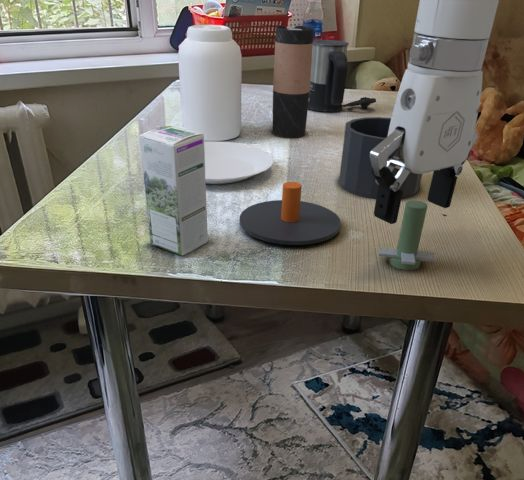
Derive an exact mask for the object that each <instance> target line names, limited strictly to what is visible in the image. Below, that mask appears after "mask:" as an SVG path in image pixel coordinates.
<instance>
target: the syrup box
mask: <svg viewBox="0 0 524 480" xmlns="http://www.w3.org/2000/svg"><path fill="white" fill-rule="evenodd" d="M204 142H205V141H204V134H203V133H198V132H194V131H190V130H186V129H182V127H177V126H172V125H166V126H164V125H163V126H160V127H156V128H154V129H150V130H148V131H145V132H144V133H141V134H139V146H140V157H141V164H142V174H143V181H144V182H143V183H144V191H145V193H144V194H145V203H146V210H147V221H148V229H149V238H150V245H152V246H155V247H156V248H159V249H163V250H165V251H167V252H171V253H173V254H176V255H179V256H182V257H183V256H185V255H188V254H189V253H192V252H193V251H195V250H196V249H198V248H200V247H202V246H204V245H206V244H208V243H209V229H208V212H207V185H206V181H205V150H204Z"/></svg>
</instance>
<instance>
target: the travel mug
mask: <svg viewBox="0 0 524 480" xmlns="http://www.w3.org/2000/svg"><path fill="white" fill-rule="evenodd" d="M314 31H315V29H314V27H311V26H306V25H295V26H294V27H293V28H287V27H286V26H285V25H277V26H276V27H275V38H274V39H275V42H274V60H273V61H274V62H273V80H272V81H273V82H272V134H273V135H274V136H277V137H280V138H286V139H295V138H301V137H304V136H305V135H306V129H307V120H308V112H309V111H308V110H309V109H308V102H309V91H310V78H311V63H312V49H313V41H314V33H315V32H314Z"/></svg>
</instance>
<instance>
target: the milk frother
mask: <svg viewBox="0 0 524 480" xmlns="http://www.w3.org/2000/svg"><path fill="white" fill-rule="evenodd" d="M349 45H350V43H349V42H347V41H343V40H334V39H333V40H332V39H315V40H314V39H313V49H312V63H311V78H310V91H309V102H308V110H311V111H316V112H339V111H341V110H342V109H343V108H347V107H357V106H360V108H361V109H367V108H368V107H369V106H371V104H374V103H375V104H376V102H377V98H375V97H371V98H370V97H367V96H363V97H360V98H359V99H358V100H353V101H351V102H349V103H345V104H343V103H344V97H345V92H346V91H345V90H346V84H347V76H348V71H349V70H348V69H349V63H348V57H347V54H348V46H349Z"/></svg>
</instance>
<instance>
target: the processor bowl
mask: <svg viewBox="0 0 524 480" xmlns="http://www.w3.org/2000/svg"><path fill="white" fill-rule="evenodd" d="M390 122H391V117H385V116H384V117H382V116H372V117H371V116H369V117H368V116H367V117H359V118H353V119H350V120H349V121H346V122H345V128H344V129H345V130H344V138H343V145H342V154H341V162H340V170H339V171H340V172H339V180H338V183H339V186H340V187H341V188H342V189H343V190H345V191H346V192H349V193H351V194H353V195H356V196H359V197H364V198H368V199H375V200H376V198H377V192H378V186H379V185H378V184H376V182H375V177H374V176H373V174H372V166H371V161H370V156H369V154H370V152H371V150H372V149H373V148H375V147H376V146H377V145H378V144H379V143H381V142H382V141H383V140H384V139H385V138H386V137H387V136H388V131H389V126H390ZM399 170H400V169H397V168H395V167H394V170H393V171H392V174H393V176H394V177H395V176H396V174H397V173H398V171H399ZM422 177H423V174H415V173H413V172H410V173H409V175H408V176H407V178H406V179H405V181H404V182H403V184H402V185H401V186H400V188H399V189H400V190H402V191H403V192H402V198H401V200H403V199H406V198H410V197H412V196H414V195H416V194H417V193H418V192H419V189H420V187H421V183H422Z"/></svg>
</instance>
